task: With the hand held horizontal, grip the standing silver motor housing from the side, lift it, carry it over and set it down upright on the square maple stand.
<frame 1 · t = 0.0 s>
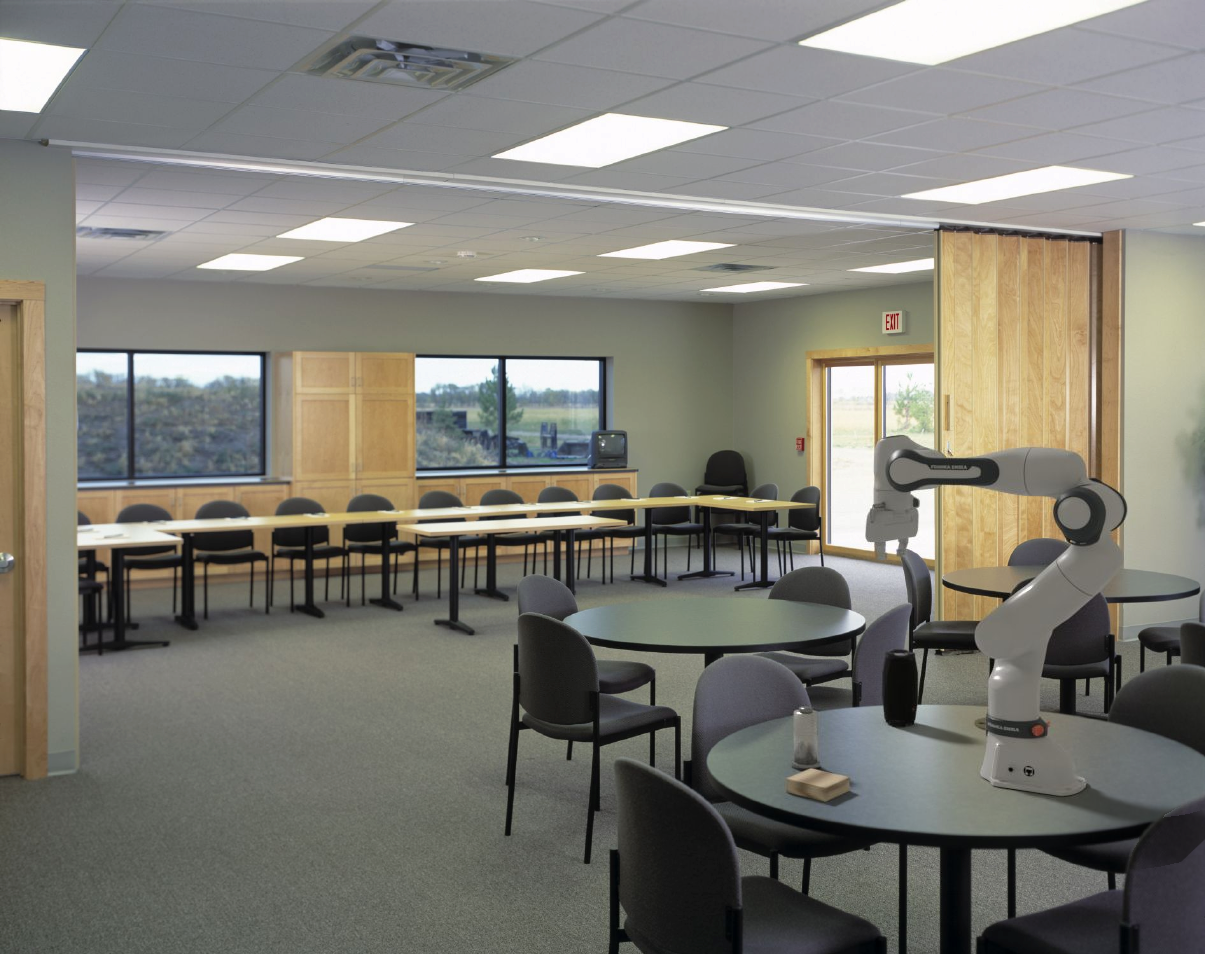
hand: (891, 558, 281), 48 cm above the table, tool pointing down, fingers open, 8 cm apart
housing: (805, 766, 272), on the table
portable speaker: (899, 724, 310), on the table
flange: (1003, 728, 307), on the table
stand: (817, 791, 253), on the table
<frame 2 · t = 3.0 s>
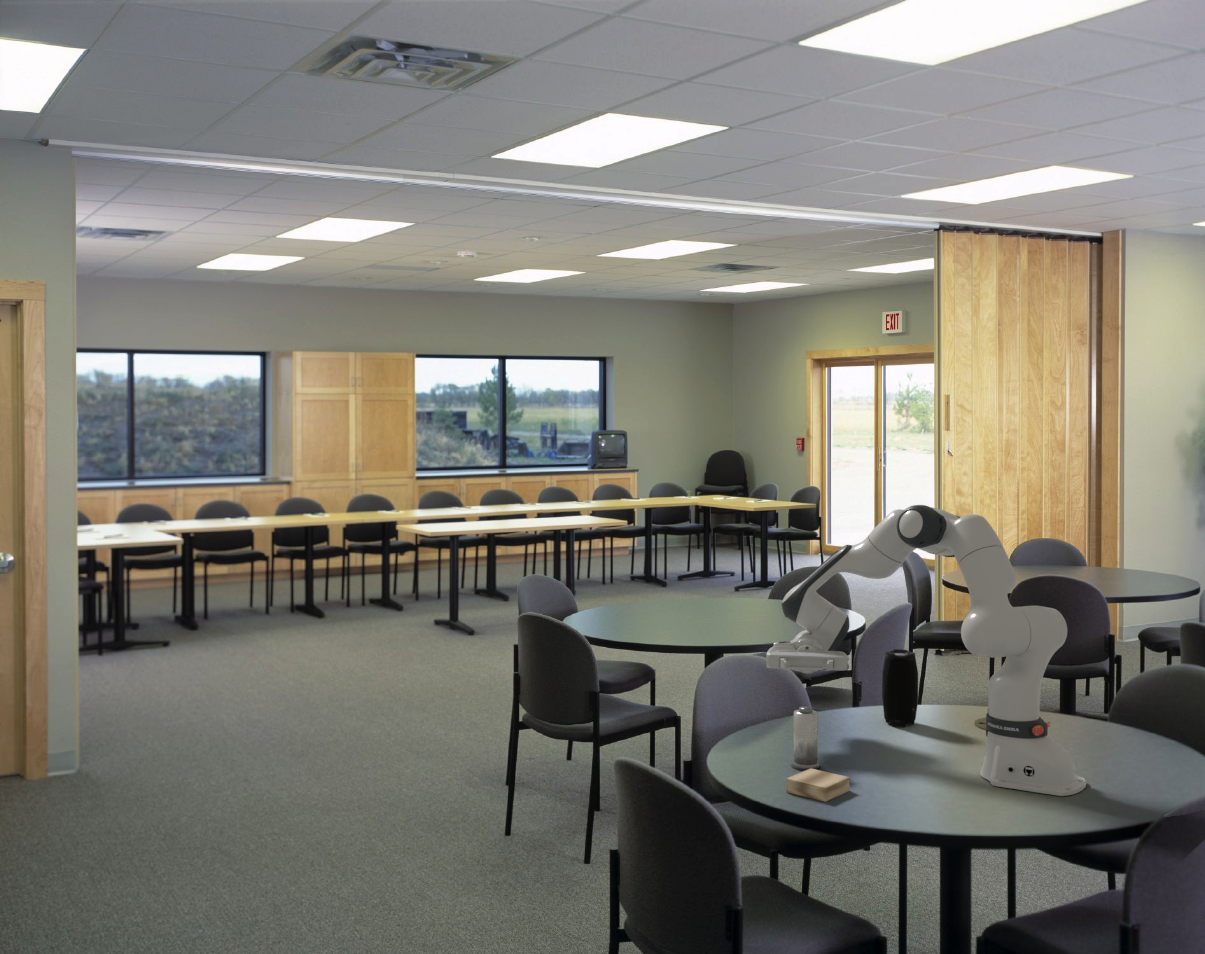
hand: (806, 666, 282), 21 cm above the table, tool horizontal, fingers open, 8 cm apart
nothing on the table moved.
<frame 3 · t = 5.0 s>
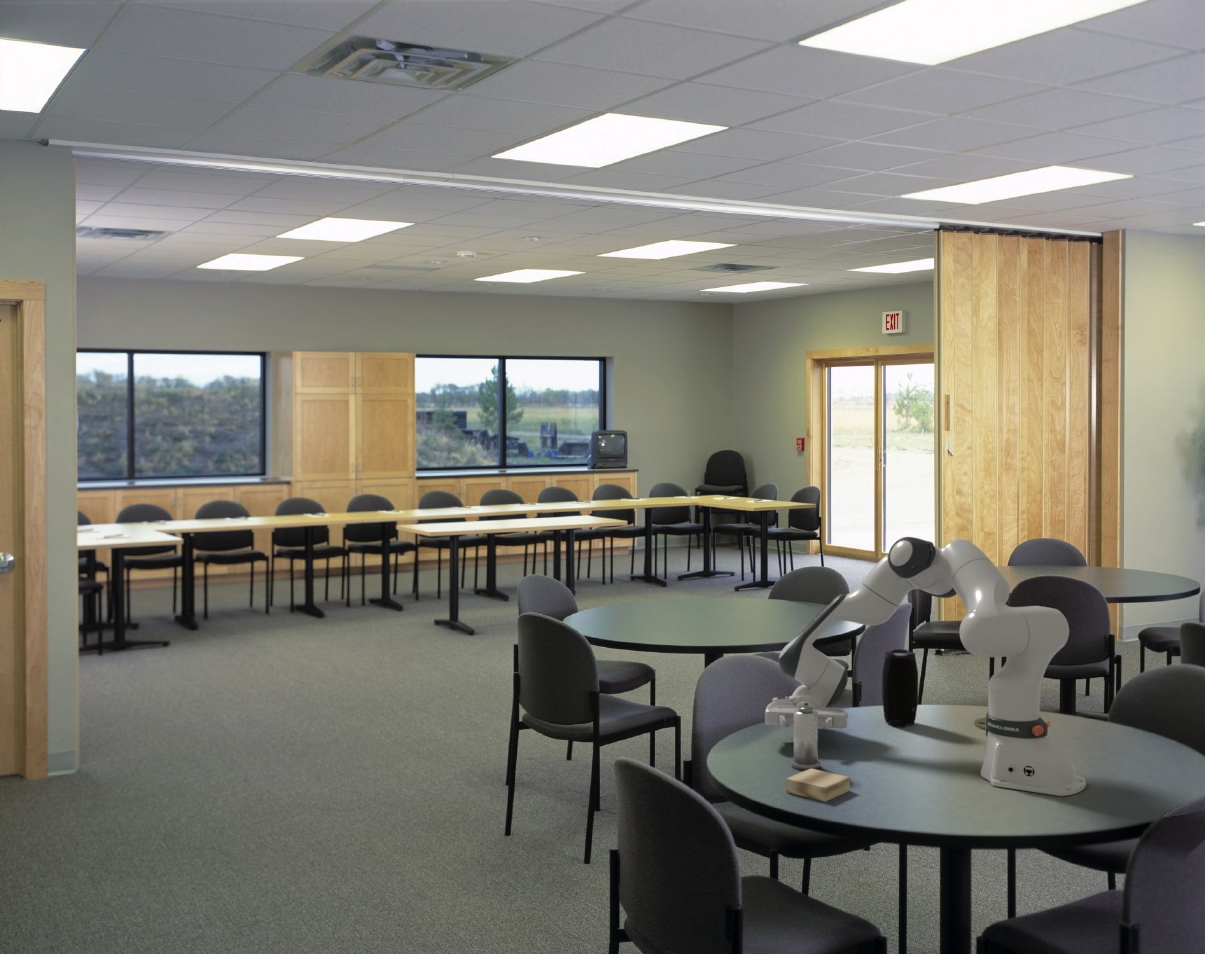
hand: (805, 724, 280), 8 cm above the table, tool horizontal, fingers open, 8 cm apart
nothing on the table moved.
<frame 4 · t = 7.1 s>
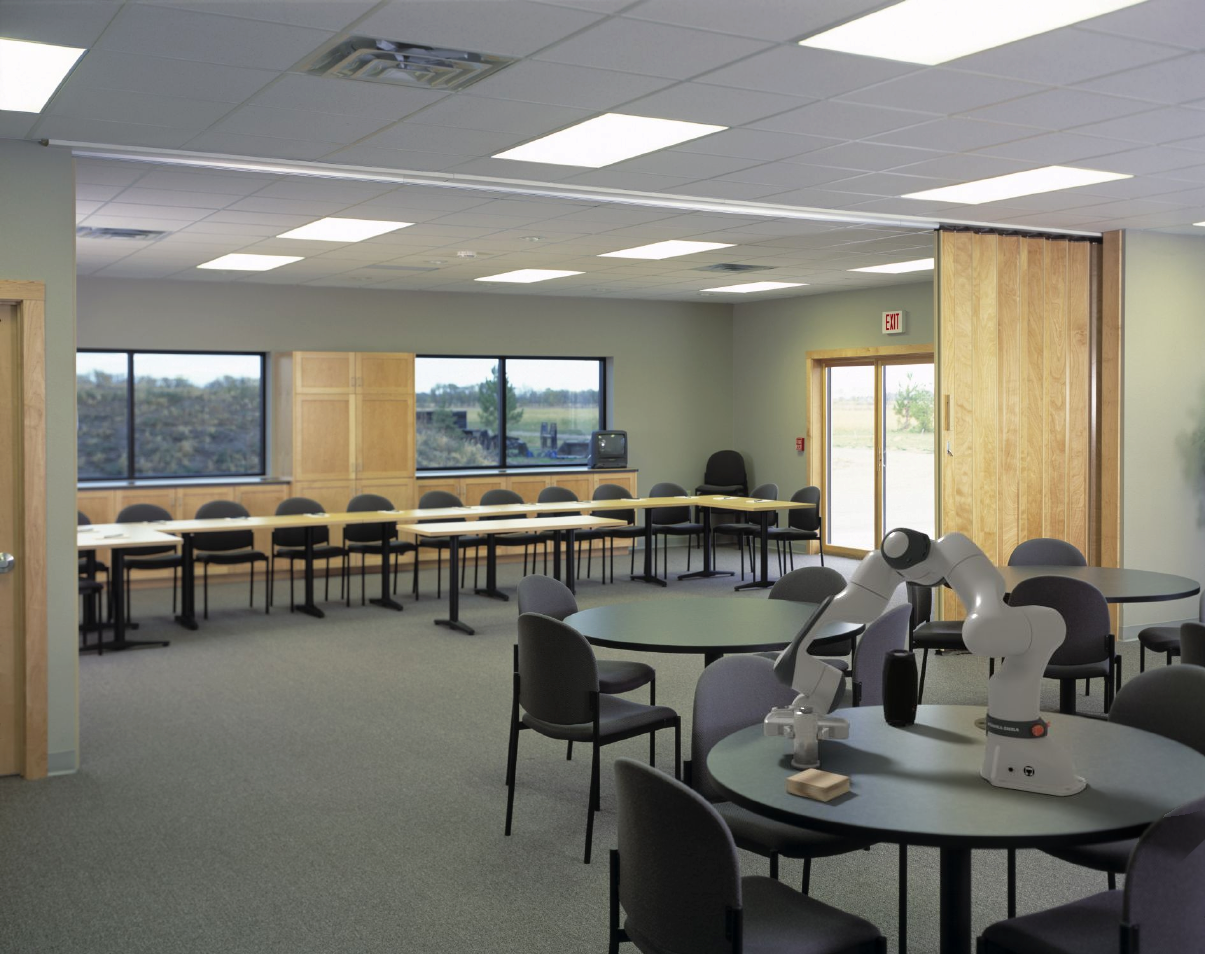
hand: (805, 735, 270), 8 cm above the table, tool horizontal, fingers closed on housing, 6 cm apart
housing: (805, 766, 272), on the table, touching gripper
everything else where it was.
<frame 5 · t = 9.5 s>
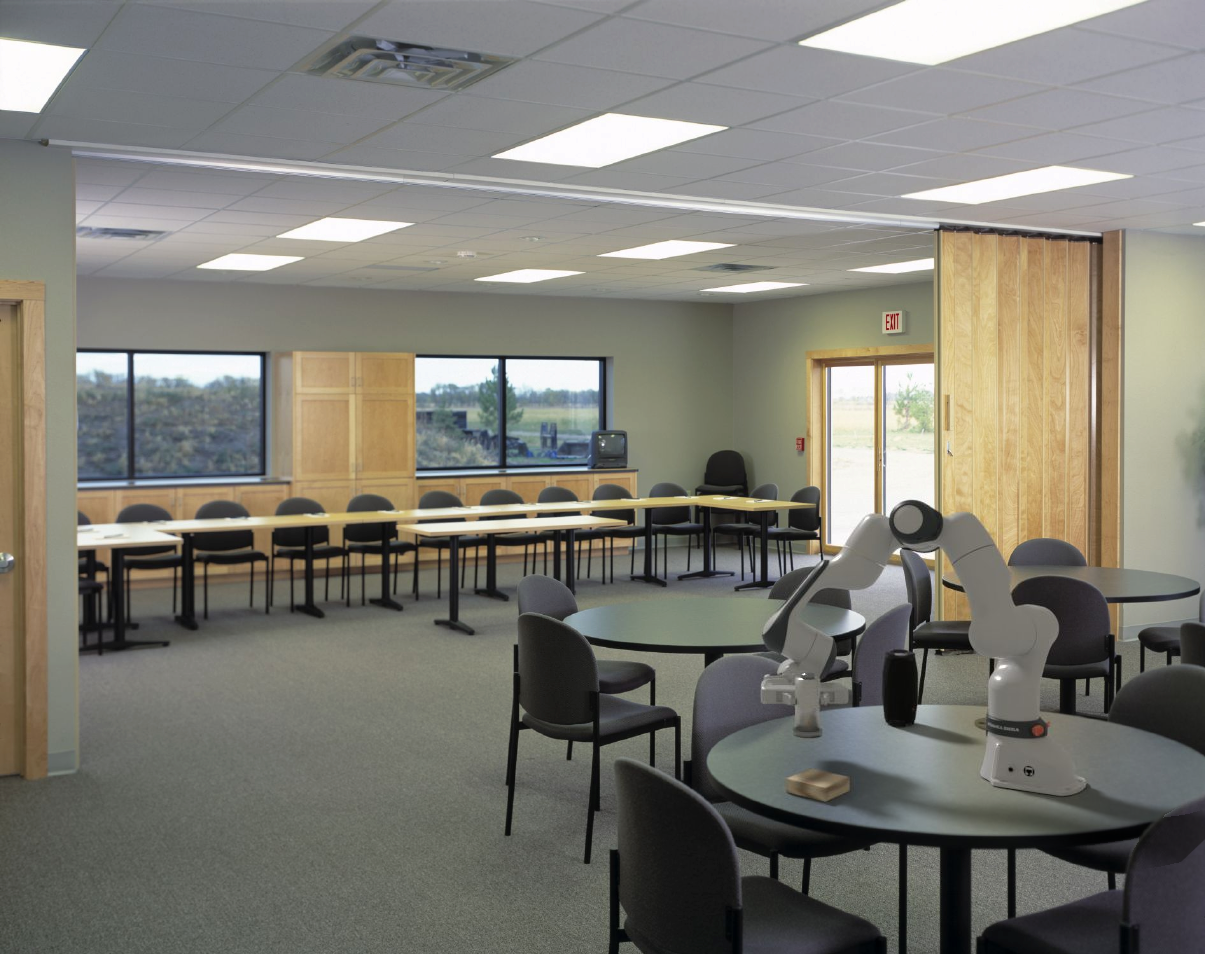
hand: (808, 701, 261), 18 cm above the table, tool horizontal, fingers closed on housing, 6 cm apart
housing: (807, 734, 262), point 10 cm above the table, touching gripper
everything else where it was.
when the fingers open (12 cm above the table, at t = 11.9 s): housing stays where it is, resting on stand.
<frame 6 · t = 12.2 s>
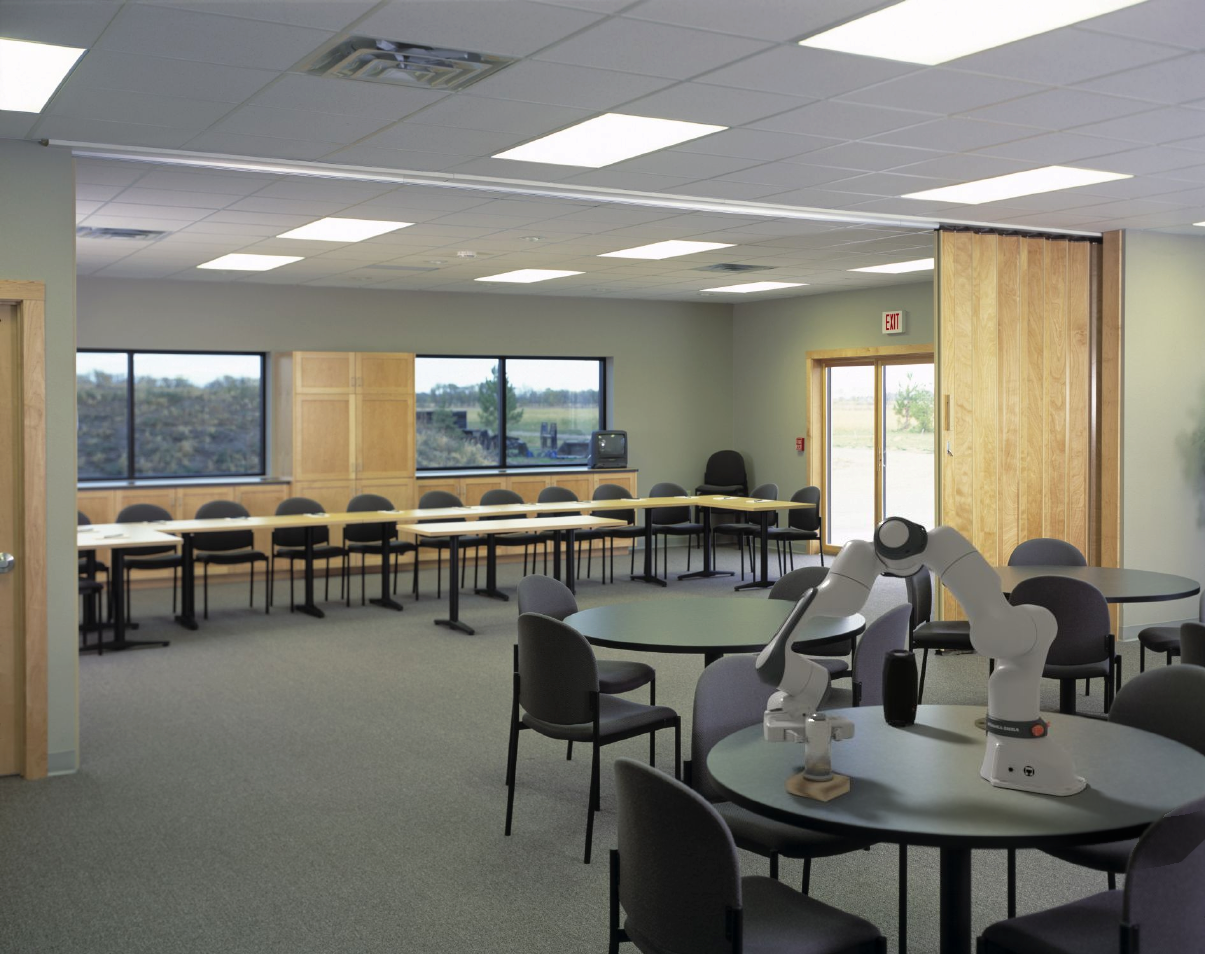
hand: (819, 738, 252), 12 cm above the table, tool horizontal, fingers open, 8 cm apart
housing: (818, 777, 253), point 3 cm above the table, touching stand
everything else where it was.
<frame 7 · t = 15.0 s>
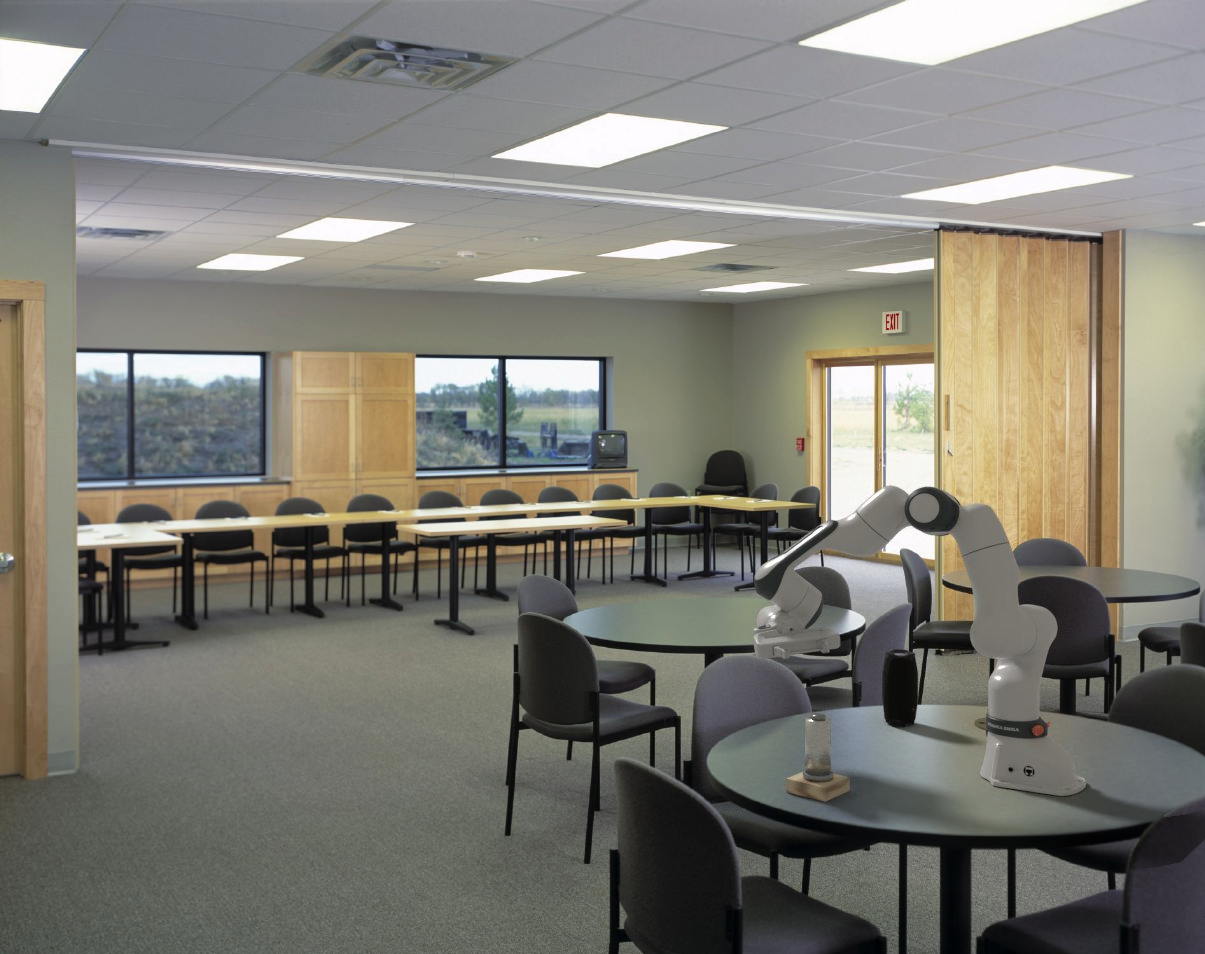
hand: (806, 652, 264), 28 cm above the table, tool horizontal, fingers open, 8 cm apart
nothing on the table moved.
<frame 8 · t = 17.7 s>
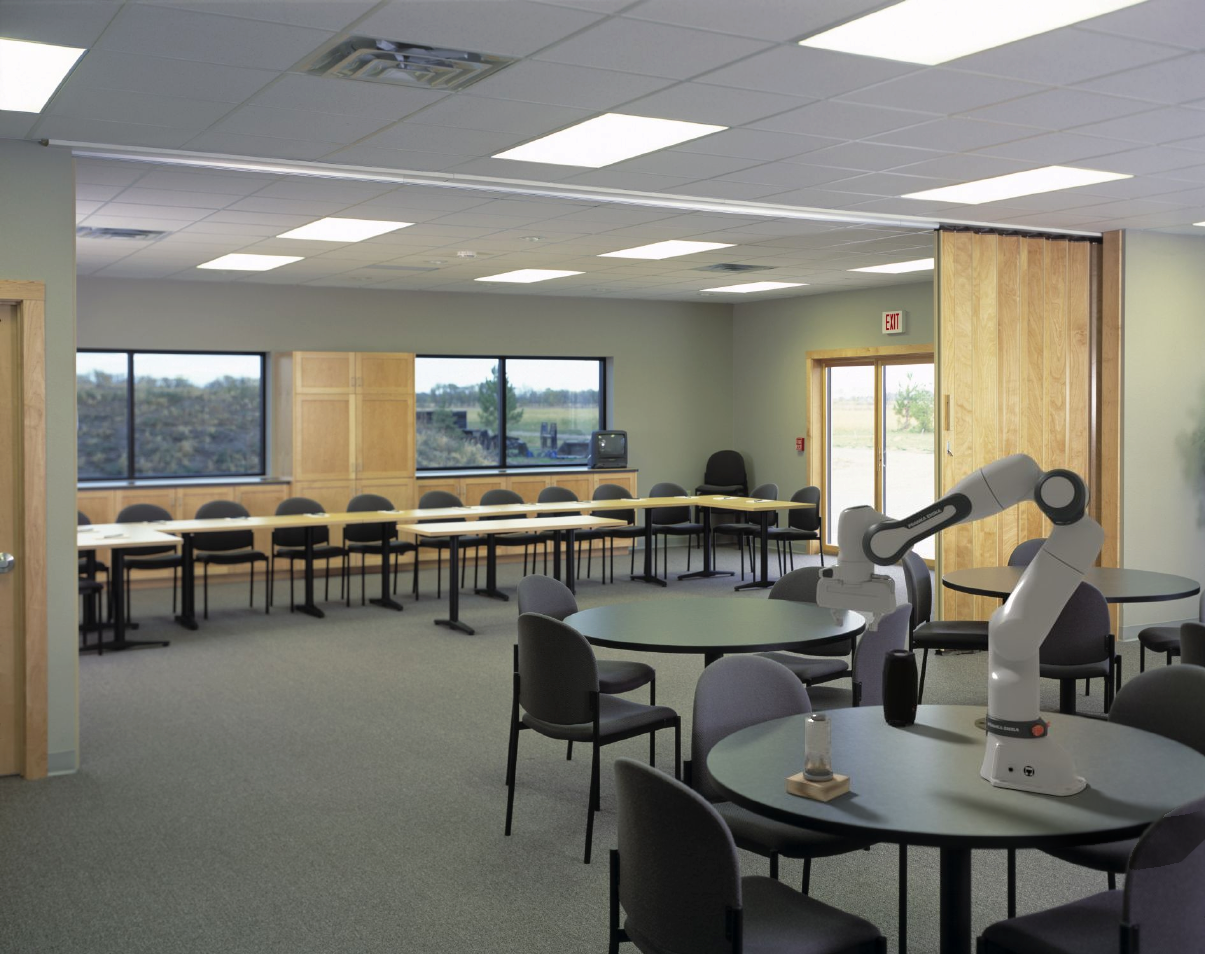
hand: (855, 628, 279), 31 cm above the table, tool pointing down, fingers open, 8 cm apart
nothing on the table moved.
at the end: housing inside the target area on the stand (0.1 cm from its centre), point 3.0 cm above the stand's base; housing tilted 0°; the gripper is holding nothing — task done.
